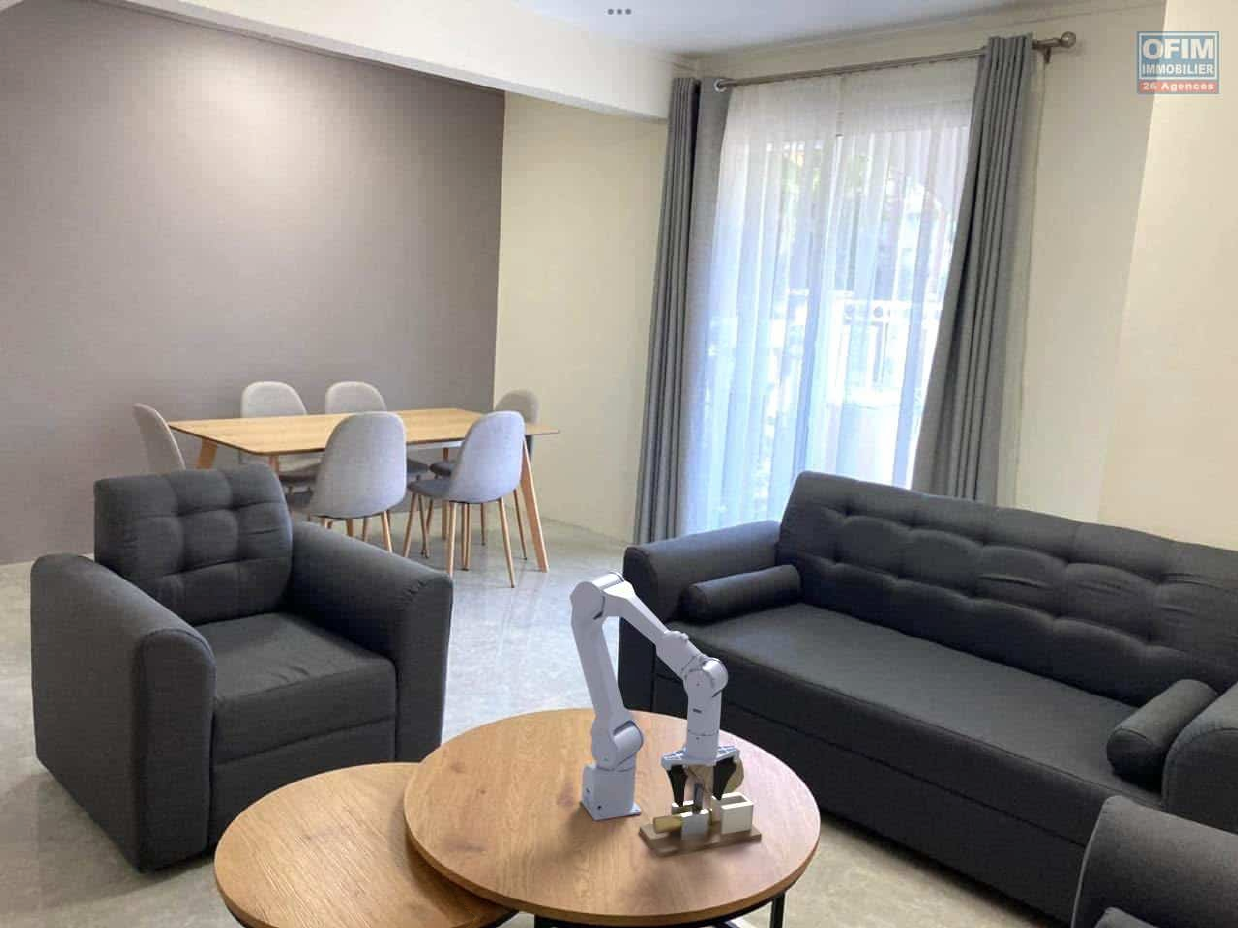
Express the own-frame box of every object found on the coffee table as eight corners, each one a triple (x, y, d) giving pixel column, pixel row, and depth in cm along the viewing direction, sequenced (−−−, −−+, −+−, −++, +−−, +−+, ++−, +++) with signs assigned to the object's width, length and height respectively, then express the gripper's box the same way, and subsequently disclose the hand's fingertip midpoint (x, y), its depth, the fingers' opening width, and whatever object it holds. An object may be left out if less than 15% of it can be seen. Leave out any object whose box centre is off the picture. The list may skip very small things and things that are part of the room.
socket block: (722, 834, 177) (724, 809, 176) (709, 820, 181) (710, 795, 181) (751, 829, 179) (753, 804, 178) (738, 815, 184) (739, 791, 183)
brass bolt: (658, 837, 173) (661, 791, 172) (652, 829, 176) (654, 783, 174) (714, 827, 177) (718, 782, 176) (707, 819, 180) (710, 775, 179)
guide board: (660, 857, 170) (662, 827, 169) (639, 831, 178) (641, 802, 178) (761, 838, 178) (764, 809, 177) (737, 814, 186) (739, 786, 185)
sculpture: (693, 790, 188) (730, 751, 189) (667, 748, 205) (701, 712, 205) (723, 815, 191) (759, 777, 192) (695, 772, 208) (728, 737, 208)
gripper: (675, 743, 168) (670, 818, 170) (750, 733, 174) (744, 805, 176) (658, 726, 175) (653, 798, 177) (730, 717, 180) (725, 787, 182)
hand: (697, 800), depth 177 cm, fingers open, 7 cm apart
